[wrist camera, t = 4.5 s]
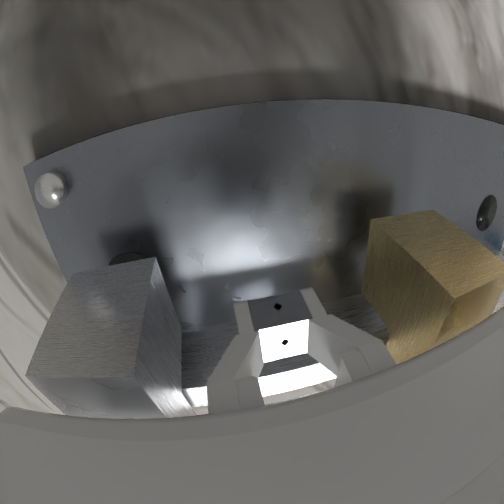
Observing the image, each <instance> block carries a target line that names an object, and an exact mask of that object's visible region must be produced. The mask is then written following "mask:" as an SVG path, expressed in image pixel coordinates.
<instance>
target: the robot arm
mask: <svg viewBox="0 0 504 504" xmlns="http://www.w3.org/2000/svg"><path fill="white" fill-rule="evenodd" d="M234 311H235V316H236V322H237V327H238V333H239V335H235V336H234V338H233V339H232V341H231V343H230V344H229V346H228V348H227V349H226V351H225V353H224V354H223V356H222V358H221V359H220V361H219V363H218V364H217V366H216V367H215V369H214V371H213V372H212V374H211V376H210V377H209V379H208V380H207V382H206V386H207V399H208V411H209V414H205V415H196V416H185V417H171V418H150V419H111V418H91V417H78V416H68V415H59V414H51V413H45V412H38V411H32V410H27V409H22V408H18V407H7V408H6V409H5V410H3V411H2V412H1V413H0V504H504V307H503V308H501V309H500V310H498V311H497V312H495V313H494V314H492V315H490V316H489V317H487V318H486V319H484V320H483V321H481V322H479V323H478V324H476V325H474V326H473V327H471V328H469V329H468V330H466V331H464V332H462V333H460V334H459V335H457V336H455V337H453V338H451V339H449V340H448V341H446V342H444V343H442V344H440V345H438V346H436V347H434V348H432V349H430V350H428V351H426V352H424V353H421V354H419V355H417V356H415V357H413V358H411V359H408V360H406V361H404V362H401V363H399V364H396V363H395V361H394V359H393V358H392V356H391V354H390V353H389V351H388V349H387V348H386V346H385V345H384V343H383V341H382V340H380V339H378V338H376V337H374V336H373V335H371V334H369V333H367V332H365V331H363V330H361V329H359V328H357V327H355V326H353V325H351V324H349V323H347V322H345V321H343V320H341V319H339V318H337V317H336V316H334V315H332V314H330V315H327V313H326V311H325V309H324V307H323V306H322V304H321V302H320V300H319V298H318V297H317V295H316V293H315V291H314V289H313V288H312V287H309V288H305V289H301V290H299V291H293V292H289V293H284V294H279V295H275V296H269V297H264V298H258V299H252V300H247V301H242V302H235V303H234ZM303 353H308V354H309V355H310V356H311V357H313V358H314V359H315V360H317V361H318V362H319V363H320V364H322V365H323V366H324V367H326V368H327V369H328V370H330V371H331V372H332V373H334V374H335V375H336V376H337V379H336V383H335V387H333V388H330V389H327V390H323V391H320V392H317V393H313V394H309V395H306V396H302V397H298V398H294V399H290V400H285V401H281V402H277V403H272V404H267V405H264V401H263V397H262V393H261V389H260V385H259V380H258V378H259V375H260V373H261V370H262V368H263V365H264V362H269V361H273V360H277V359H281V358H285V357H290V356H294V355H299V354H303Z"/></svg>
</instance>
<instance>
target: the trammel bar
mask: <svg viewBox="0 0 504 504" xmlns="http://www.w3.org/2000/svg"><path fill="white" fill-rule="evenodd" d="M491 252H492V253H493V254H494V255H495V256H497V257H498V258H499V259H500V260H501V261H502V262H504V255H503V254H502V253H501V252H500V251H498V250H497V249H496V250H493V251H491ZM502 301H504V290H503V292H502V294H501V296H500V298H499V300H498V302H497V304H496V305H498V304H499V303H501V302H502ZM321 304H322V306H323V307H324V309H325V311H326V313H327V315H330V314H332V315H334V316H336V317H337V318H339V319H341V320H343V321H345V322H347V323H349V324H351V325H353V326H355V327H357V328H359V329H361V330H363V331H365V332H367V333H369V334H371V335H373V336H374V337H376V338H378V339H380V340H382V341H383V343H384V345H385V346H386V344H387V342H388V339H389V336H390V332H389V330H388V329H387V327H386V326H385V324H384V323H383V322H382V320H381V319H380V317H379V316H378V314H377V313H376V311H375V310H374V309H373V307H372V306H371V304H370V303H369V301H368V300H367V299H366V297H365V296H364V294H363V293H361V294H357V295H353V296H349V297H345V298H341V299H338V300H334V301H329V302H325V303H321ZM235 335H239V333H238V327H237V322H230V323H224V324H219V325H213V326H207V327H200V328H194V329H187V330H182V327H181V324H180V322H179V319H178V317H177V314H176V312H175V309H174V306H173V304H172V301H171V298H170V296H169V293H168V290H167V288H166V285H165V282H164V279H163V276H162V273H161V270H160V267H159V265H158V262H157V259H156V257H152V258H147V259H142V260H137V261H131V262H126V263H121V264H116V265H111V266H106V267H100V268H95V269H90V270H85V271H80V272H75V273H73V274H72V276H71V278H70V280H69V282H68V283H67V285H66V287H65V289H64V291H63V292H62V294H61V296H60V298H59V300H58V302H57V304H56V306H55V308H54V310H53V312H52V314H51V316H50V318H49V320H48V322H47V324H46V327H45V329H44V331H43V333H42V335H41V338H40V340H39V342H38V345H37V347H36V349H35V352H34V354H33V357H32V359H31V362H30V364H29V367H28V370H27V372H26V375H25V376H26V377H27V378H28V379H29V380H30V381H31V382H32V384H33V385H34V386H35V387H36V388H37V389H38V390H39V391H40V392H41V393H42V394H43V395H45V396H46V397H47V398H48V399H49V400H50V401H51V402H52V403H53V404H54V405H55V406H56V407H58V408H59V409H60V410H61V411H62V412H63V413H64V414H66V415H68V416H78V417H91V418H111V419H150V418H171V417H185V416H196V414H195V412H194V411H193V409H192V408H191V407H199V406H208V399H207V386H206V382H207V380H208V379H209V377H210V376H211V374H212V372H213V371H214V369H215V367H216V366H217V364H218V363H219V361H220V359H221V358H222V356H223V354H224V353H225V351H226V349H227V348H228V346H229V344H230V343H231V341H232V339H233V338H234V336H235ZM335 378H337V376H336V375H335V374H334V373H332V372H331V371H330V370H328V369H327V368H326V367H324V366H323V365H322V364H320V363H319V362H318V361H317V360H315V359H314V358H313V357H311V356H310V355H309V354H308V353H303V354H299V355H294V356H290V357H285V358H281V359H277V360H273V361H269V362H264V365H263V368H262V370H261V373H260V375H259V378H258V380H259V385H260V389H261V393H262V397H263V396H268V395H273V394H277V393H282V392H286V391H290V390H295V389H299V388H303V387H306V386H310V385H314V384H317V383H321V382H324V381H328V380H331V379H335Z"/></svg>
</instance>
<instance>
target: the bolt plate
mask: <svg viewBox="0 0 504 504" xmlns="http://www.w3.org/2000/svg"><path fill="white" fill-rule="evenodd" d="M23 168H24V172H25V176H26V179H27V183H28V186H29V189H30V192H31V195H32V198H33V201H34V204H35V207H36V210H37V213H38V216H39V218H40V221H41V224H42V226H43V229H44V231H45V234H46V236H47V239H48V241H49V243H50V246H51V248H52V250H53V253H54V255H55V257H56V259H57V261H58V264H59V266H60V268H61V270H62V272H63V274H64V276H65V278H66V280H67V282H69V280H70V278H71V276H72V274H73V273H75V272H80V271H85V270H90V269H95V268H100V267H106V266H111V265H116V264H121V263H126V262H131V261H137V260H142V259H147V258H152V257H156V259H157V262H158V265H159V267H160V270H161V273H162V276H163V279H164V282H165V285H166V288H167V290H168V293H169V296H170V298H171V301H172V304H173V306H174V309H175V312H176V314H177V317H178V319H179V322H180V324H181V327H182V330H187V329H194V328H200V327H207V326H213V325H219V324H224V323H230V322H236V316H235V311H234V303H235V302H242V301H247V300H252V299H258V298H264V297H269V296H275V295H279V294H284V293H289V292H293V291H299V290H301V289H305V288H309V287H312V288H313V289H314V291H315V293H316V295H317V297H318V298H319V300H320V302H321V303H325V302H329V301H334V300H338V299H341V298H345V297H349V296H353V295H357V294H361V293H362V292H361V288H362V282H363V276H364V269H365V262H366V255H367V247H368V239H369V230H370V220H371V219H376V218H382V217H389V216H395V215H401V214H408V213H414V212H421V211H427V210H435V211H436V212H438V213H439V214H441V215H442V216H444V217H445V218H446V219H448V220H449V221H451V222H452V223H454V224H455V225H456V226H458V227H459V228H461V229H462V230H463V231H465V232H466V233H467V234H469V235H470V236H471V237H473V238H474V239H475V240H477V241H478V242H479V243H480V244H482V245H483V246H484V247H486V248H487V249H488V250H489V251H493V250H496V249H497V250H498V251H500V250H501V247H502V244H503V240H504V125H502V124H499V123H496V122H492V121H489V120H485V119H482V118H478V117H474V116H470V115H465V114H461V113H456V112H452V111H447V110H441V109H436V108H430V107H424V106H417V105H410V104H402V103H392V102H382V101H368V100H347V99H302V100H281V101H267V102H255V103H246V104H237V105H229V106H222V107H215V108H209V109H203V110H197V111H192V112H187V113H182V114H177V115H172V116H167V117H163V118H159V119H155V120H150V121H146V122H143V123H139V124H135V125H131V126H128V127H124V128H121V129H118V130H114V131H111V132H108V133H105V134H102V135H99V136H96V137H93V138H90V139H87V140H84V141H82V142H79V143H76V144H74V145H71V146H68V147H66V148H63V149H61V150H58V151H56V152H54V153H51V154H49V155H47V156H44V157H42V158H40V159H38V160H36V161H34V162H32V163H30V164H28V165H26V166H24V167H23Z"/></svg>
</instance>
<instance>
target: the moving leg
mask: <svg viewBox="0 0 504 504" xmlns="http://www.w3.org/2000/svg"><path fill="white" fill-rule="evenodd" d="M503 290H504V262H502V261H501V260H500V259H499V258H498V257H497V256H495V255H494V254H493V253H492V252H491V251H489V250H488V249H487V248H486V247H484V246H483V245H482V244H480V243H479V242H478V241H477V240H475V239H474V238H473V237H471V236H470V235H469V234H467V233H466V232H465V231H463V230H462V229H461V228H459V227H458V226H456V225H455V224H454V223H452V222H451V221H449V220H448V219H446V218H445V217H444V216H442V215H441V214H439V213H438V212H436V211H435V210H427V211H421V212H414V213H408V214H401V215H395V216H389V217H382V218H376V219H371V220H370V230H369V239H368V247H367V255H366V262H365V269H364V276H363V282H362V288H361V292H362V293H363V294H364V296H365V297H366V299H367V300H368V301H369V303H370V304H371V306H372V307H373V309H374V310H375V311H376V313H377V314H378V316H379V317H380V319H381V320H382V322H383V323H384V324H385V326H386V327H387V329H388V330H389V332H390V336H389V339H388V342H387V344H386V348H387V349H388V351H389V353H390V354H391V356H392V358H393V359H394V361H395V363H396V364H399V363H401V362H404V361H406V360H408V359H411V358H413V357H415V356H417V355H419V354H421V353H424V352H426V351H428V350H430V349H432V348H434V347H436V346H438V345H440V344H442V343H444V342H446V341H448V340H449V339H451V338H453V337H455V336H457V335H459V334H460V333H462V332H464V331H466V330H468V329H469V328H471V327H473V326H474V325H476V324H478V323H479V322H481V321H483V320H484V319H486V318H487V317H489V316H490V315H491V314H492V312H493V310H494V308H495V306H496V304H497V302H498V300H499V298H500V296H501V294H502V292H503Z"/></svg>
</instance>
